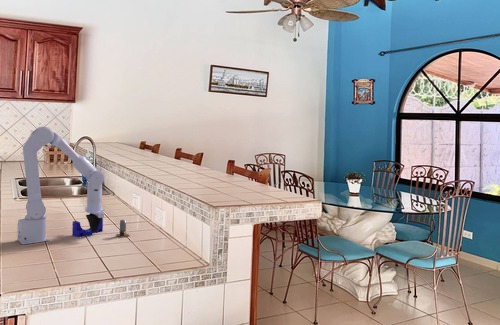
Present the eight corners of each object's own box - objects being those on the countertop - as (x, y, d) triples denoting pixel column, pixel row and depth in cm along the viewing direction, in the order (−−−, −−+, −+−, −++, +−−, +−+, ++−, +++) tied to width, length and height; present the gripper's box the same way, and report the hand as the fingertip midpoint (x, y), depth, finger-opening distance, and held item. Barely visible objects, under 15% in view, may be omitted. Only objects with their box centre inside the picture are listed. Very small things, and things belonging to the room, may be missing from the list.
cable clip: (78, 238, 161) (78, 223, 160) (72, 235, 163) (72, 221, 163) (104, 232, 170) (105, 218, 170) (98, 230, 173) (98, 217, 173)
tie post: (120, 237, 163) (120, 222, 163) (116, 235, 166) (116, 220, 166) (129, 236, 166) (129, 220, 165) (125, 234, 169) (125, 218, 168)
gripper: (111, 201, 162) (110, 234, 163) (97, 195, 172) (96, 226, 173) (94, 203, 157) (93, 236, 158) (80, 197, 167) (80, 228, 168)
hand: (94, 231), depth 165 cm, fingers closed
